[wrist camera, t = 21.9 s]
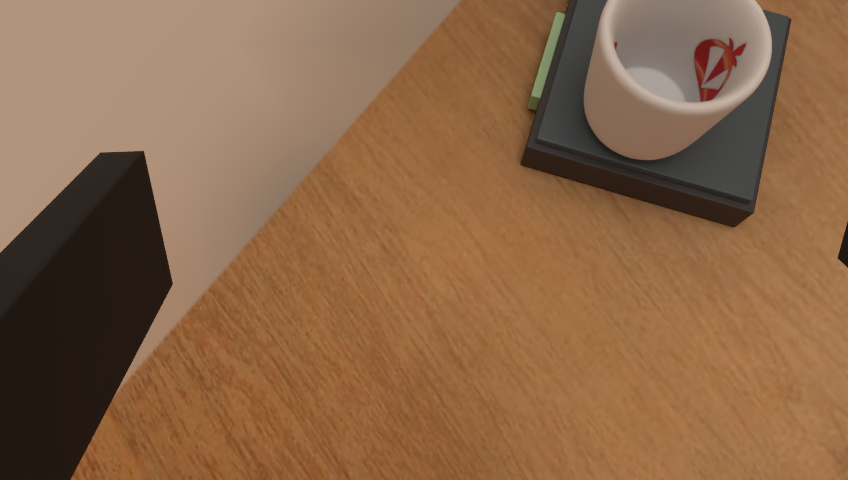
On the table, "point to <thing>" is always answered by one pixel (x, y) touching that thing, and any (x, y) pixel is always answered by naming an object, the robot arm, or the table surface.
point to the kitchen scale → (662, 178)
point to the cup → (672, 71)
